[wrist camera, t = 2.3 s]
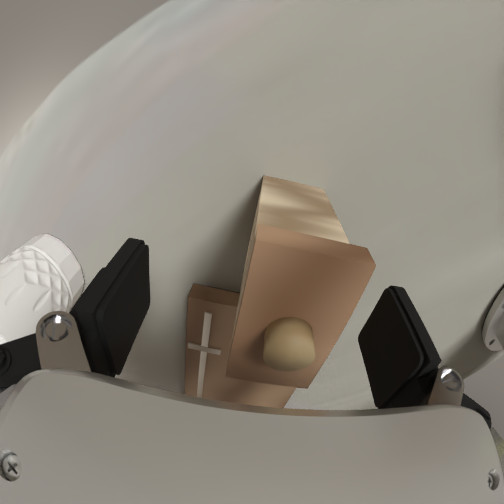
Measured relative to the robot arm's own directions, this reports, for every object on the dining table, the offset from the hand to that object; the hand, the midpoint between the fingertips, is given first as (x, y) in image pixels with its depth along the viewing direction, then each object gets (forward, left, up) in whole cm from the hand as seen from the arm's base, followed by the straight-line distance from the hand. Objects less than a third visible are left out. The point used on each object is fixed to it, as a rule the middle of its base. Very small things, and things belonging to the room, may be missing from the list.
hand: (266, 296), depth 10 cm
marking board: (-1, +20, -7) cm, 21 cm away
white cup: (+17, +8, -8) cm, 20 cm away
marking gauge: (-1, 0, -7) cm, 7 cm away
